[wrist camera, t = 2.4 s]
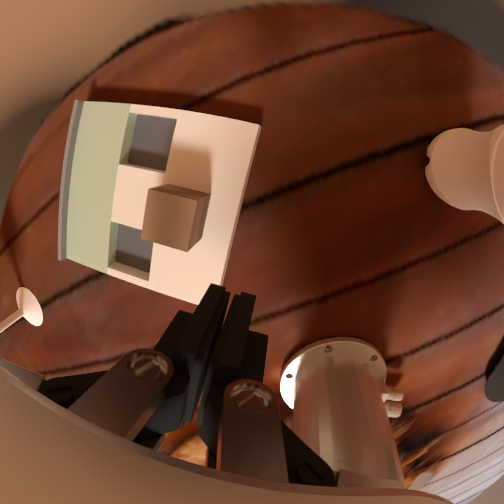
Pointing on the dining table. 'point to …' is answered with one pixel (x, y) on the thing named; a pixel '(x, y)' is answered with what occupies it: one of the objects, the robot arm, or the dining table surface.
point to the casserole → (496, 383)
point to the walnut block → (175, 216)
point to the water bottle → (469, 169)
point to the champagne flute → (24, 310)
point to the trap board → (143, 178)
